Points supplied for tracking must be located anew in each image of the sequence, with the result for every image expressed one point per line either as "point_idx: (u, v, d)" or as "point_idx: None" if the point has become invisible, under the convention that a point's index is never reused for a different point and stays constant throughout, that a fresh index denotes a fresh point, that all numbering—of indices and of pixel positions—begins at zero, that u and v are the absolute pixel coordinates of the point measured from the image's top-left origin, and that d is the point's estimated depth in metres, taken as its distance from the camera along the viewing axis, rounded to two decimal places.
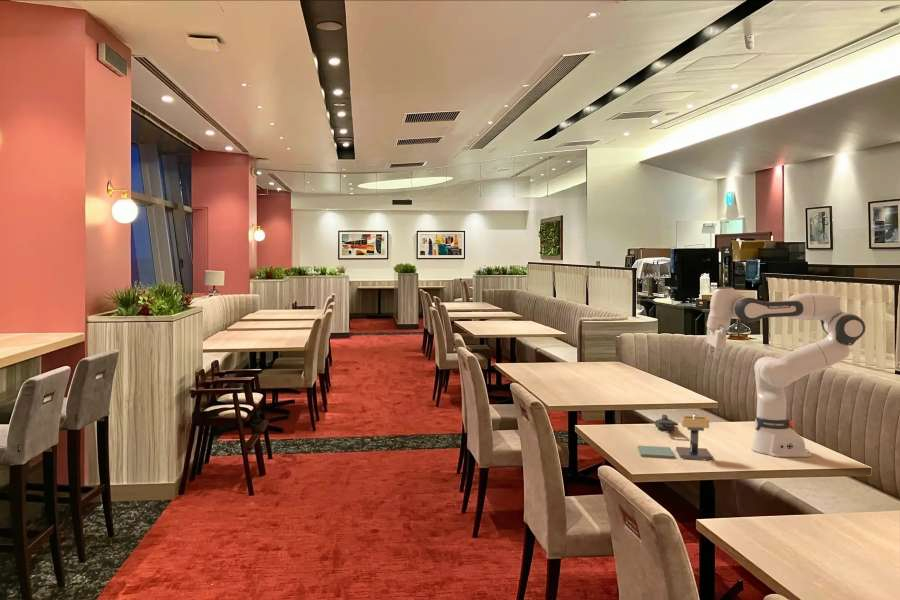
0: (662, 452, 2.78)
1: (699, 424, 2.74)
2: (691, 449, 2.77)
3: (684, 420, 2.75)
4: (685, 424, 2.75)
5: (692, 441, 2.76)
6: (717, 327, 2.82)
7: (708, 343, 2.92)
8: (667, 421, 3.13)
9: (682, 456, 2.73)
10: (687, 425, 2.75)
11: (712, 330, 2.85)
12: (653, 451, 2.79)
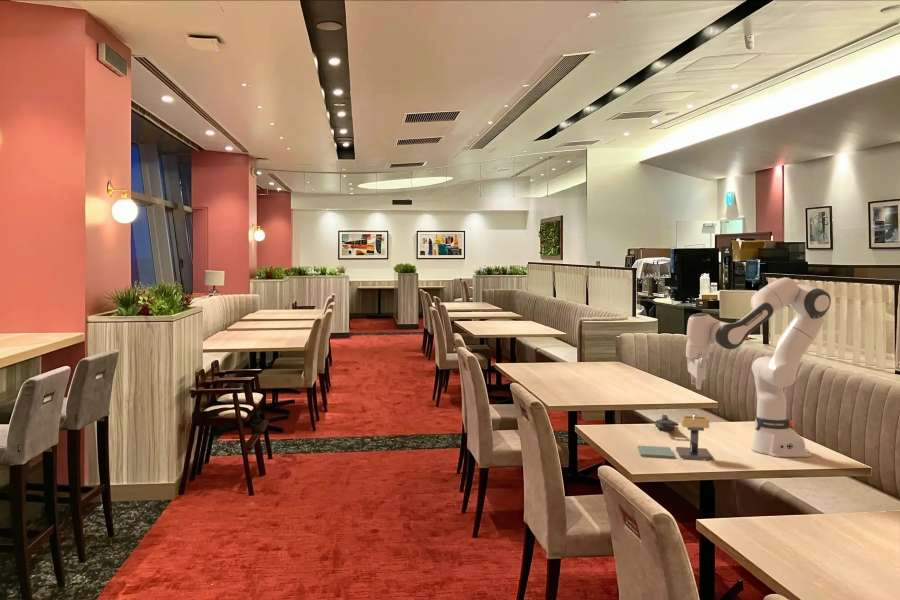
0: (662, 452, 2.78)
1: (699, 424, 2.74)
2: (691, 449, 2.77)
3: (684, 420, 2.75)
4: (685, 424, 2.75)
5: (692, 441, 2.76)
6: (696, 356, 2.71)
7: (689, 372, 2.81)
8: (667, 421, 3.12)
9: (682, 456, 2.73)
10: (687, 425, 2.75)
11: (691, 359, 2.74)
12: (653, 451, 2.79)
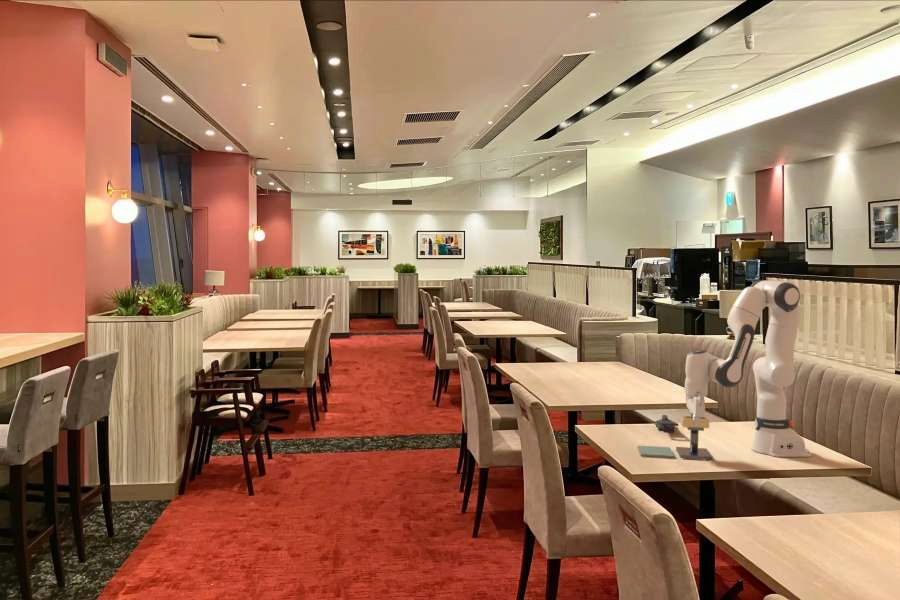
0: (662, 452, 2.78)
1: (699, 424, 2.74)
2: (691, 449, 2.77)
3: (684, 420, 2.75)
4: (685, 424, 2.75)
5: (692, 441, 2.76)
6: (695, 394, 2.72)
7: (688, 408, 2.82)
8: None
9: (682, 456, 2.73)
10: (687, 425, 2.75)
11: (690, 397, 2.75)
12: (653, 451, 2.79)
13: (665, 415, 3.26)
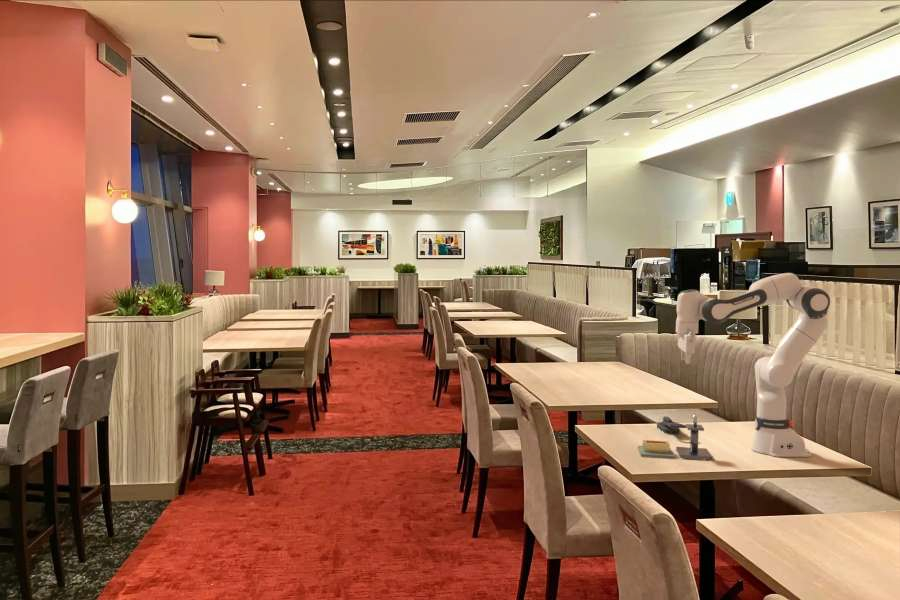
0: None
1: (659, 449, 2.77)
2: (691, 449, 2.77)
3: (645, 445, 2.78)
4: (646, 449, 2.78)
5: (692, 441, 2.76)
6: (685, 331, 2.79)
7: None
8: None
9: (682, 456, 2.73)
10: (648, 449, 2.78)
11: (681, 335, 2.82)
12: None
13: (667, 417, 3.23)
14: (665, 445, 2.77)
